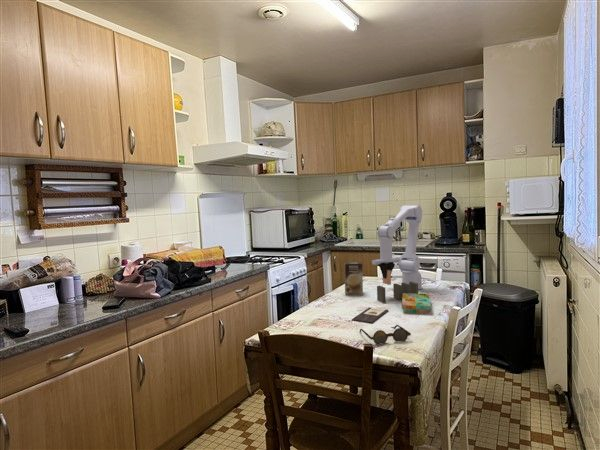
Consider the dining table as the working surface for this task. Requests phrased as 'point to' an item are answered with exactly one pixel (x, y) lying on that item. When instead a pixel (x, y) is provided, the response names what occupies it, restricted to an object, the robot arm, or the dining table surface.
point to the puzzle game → (416, 303)
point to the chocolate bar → (370, 315)
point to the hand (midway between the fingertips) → (386, 277)
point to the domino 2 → (387, 278)
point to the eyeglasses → (382, 337)
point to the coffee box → (353, 278)
